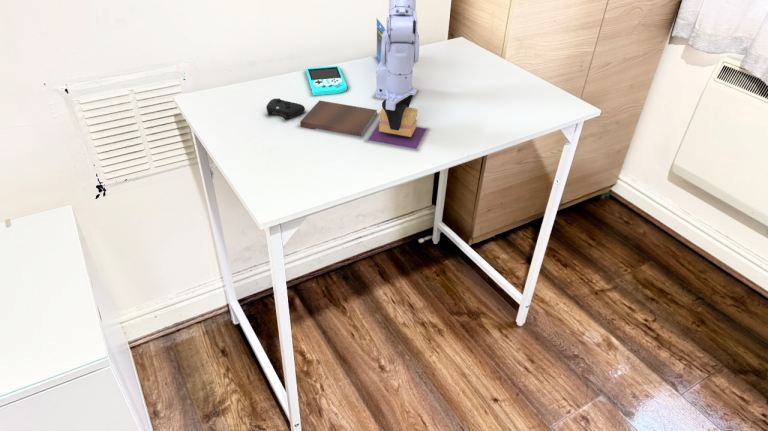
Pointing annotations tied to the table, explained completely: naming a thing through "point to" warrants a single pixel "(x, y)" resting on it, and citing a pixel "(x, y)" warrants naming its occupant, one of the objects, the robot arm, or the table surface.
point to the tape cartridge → (379, 39)
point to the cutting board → (339, 118)
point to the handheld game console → (326, 80)
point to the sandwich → (406, 124)
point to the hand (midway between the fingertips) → (398, 123)
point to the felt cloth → (398, 138)
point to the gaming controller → (284, 108)
